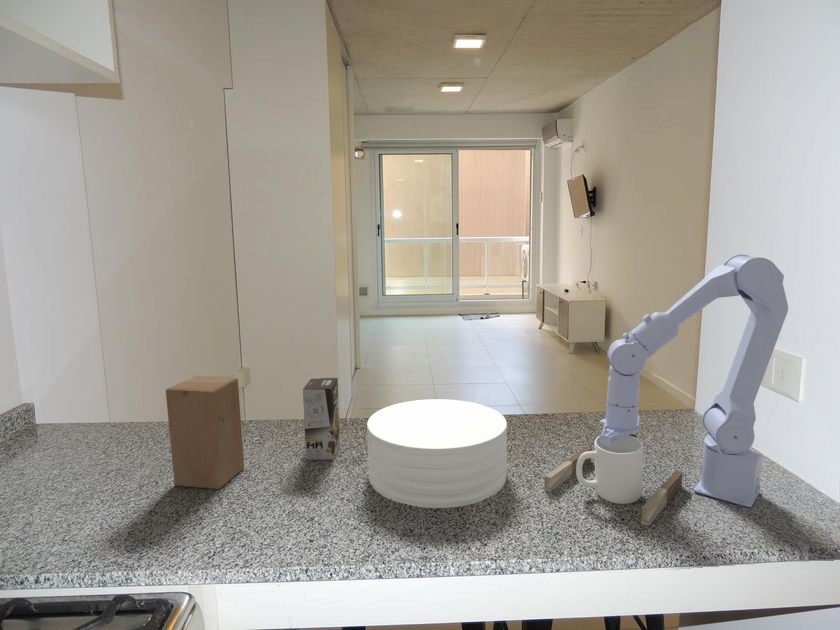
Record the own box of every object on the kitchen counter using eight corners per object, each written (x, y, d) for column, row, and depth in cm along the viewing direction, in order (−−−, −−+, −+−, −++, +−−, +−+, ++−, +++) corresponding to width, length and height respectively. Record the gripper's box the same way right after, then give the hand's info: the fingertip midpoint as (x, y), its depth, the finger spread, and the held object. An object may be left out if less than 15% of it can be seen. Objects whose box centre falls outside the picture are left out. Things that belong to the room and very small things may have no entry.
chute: (681, 486, 106) (682, 472, 105) (648, 526, 93) (649, 509, 92) (585, 459, 119) (586, 446, 118) (544, 490, 105) (544, 475, 105)
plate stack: (466, 439, 132) (466, 392, 130) (533, 490, 106) (535, 433, 104) (352, 459, 121) (350, 409, 119) (396, 522, 95) (395, 459, 94)
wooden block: (219, 490, 108) (211, 391, 104) (173, 486, 110) (164, 389, 106) (245, 468, 117) (238, 376, 114) (202, 464, 119) (195, 375, 116)
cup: (650, 502, 99) (650, 451, 97) (583, 509, 99) (582, 457, 97) (631, 478, 108) (631, 430, 105) (570, 484, 107) (569, 436, 105)
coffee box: (334, 460, 121) (331, 388, 118) (305, 460, 121) (301, 389, 118) (341, 443, 130) (338, 376, 127) (314, 443, 130) (310, 377, 127)
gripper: (617, 389, 113) (613, 452, 116) (585, 407, 103) (582, 476, 105) (652, 396, 109) (648, 461, 111) (623, 416, 98) (619, 487, 100)
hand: (618, 469), depth 108 cm, fingers closed, pressing on cup
